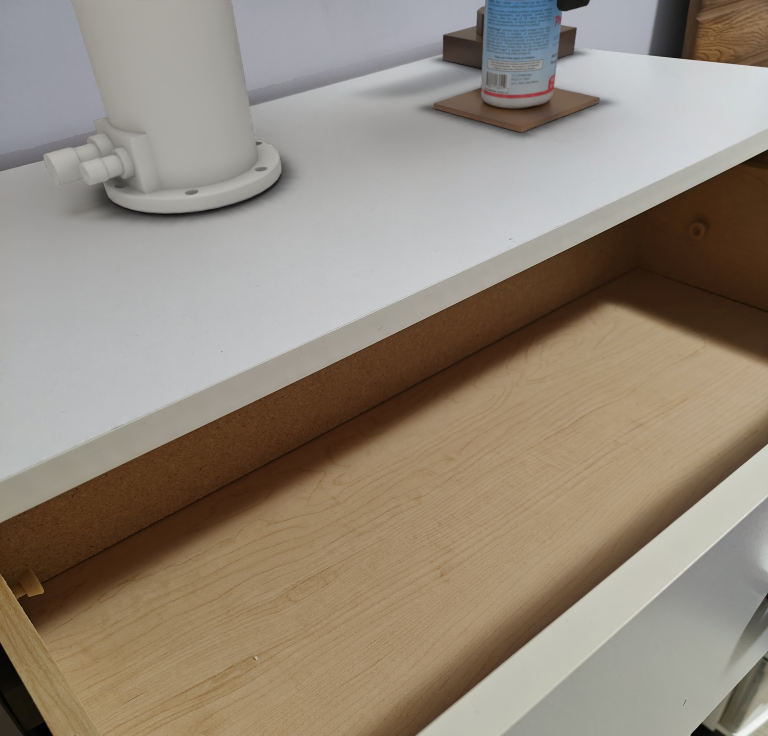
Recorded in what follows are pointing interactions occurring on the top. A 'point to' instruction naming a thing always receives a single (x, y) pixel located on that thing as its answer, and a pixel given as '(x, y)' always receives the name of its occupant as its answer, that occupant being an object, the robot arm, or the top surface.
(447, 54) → the button housing
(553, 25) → the pill bottle
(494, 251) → the top surface
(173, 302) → the top surface
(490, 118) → the coaster
